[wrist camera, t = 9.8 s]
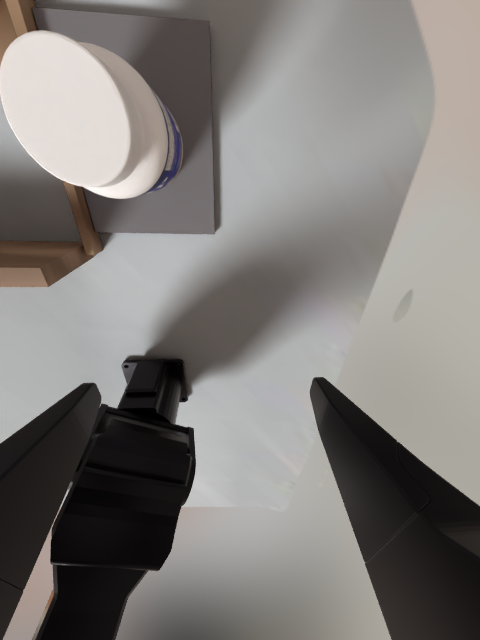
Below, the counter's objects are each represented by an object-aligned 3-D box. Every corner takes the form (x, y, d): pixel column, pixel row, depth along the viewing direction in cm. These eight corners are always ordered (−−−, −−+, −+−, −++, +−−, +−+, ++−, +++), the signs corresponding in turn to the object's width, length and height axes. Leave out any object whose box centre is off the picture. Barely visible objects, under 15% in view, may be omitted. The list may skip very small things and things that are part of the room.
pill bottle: (114, 193, 17) (25, 209, 9) (85, 91, 14) (-79, -7, 6) (190, 189, 17) (164, 202, 9) (177, 88, 14) (123, -11, 6)
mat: (214, 232, 19) (214, 234, 18) (99, 230, 18) (95, 232, 18) (209, 27, 13) (209, 21, 13) (39, 13, 12) (31, 7, 12)
